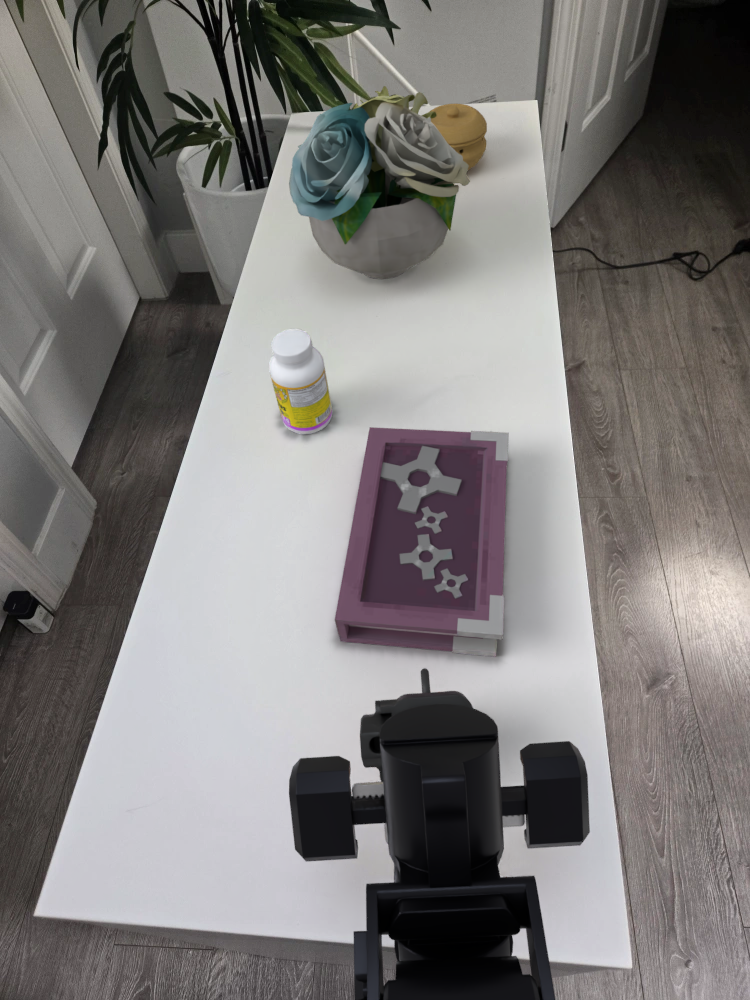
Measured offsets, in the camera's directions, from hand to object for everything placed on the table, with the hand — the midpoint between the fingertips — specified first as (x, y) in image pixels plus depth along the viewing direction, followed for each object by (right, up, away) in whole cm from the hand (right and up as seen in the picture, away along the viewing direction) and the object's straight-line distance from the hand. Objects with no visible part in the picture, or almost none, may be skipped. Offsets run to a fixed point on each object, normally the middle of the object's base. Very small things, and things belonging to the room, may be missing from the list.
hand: (431, 738), depth 54 cm
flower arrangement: (-3, +55, +56) cm, 79 cm away
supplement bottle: (-13, +29, +38) cm, 49 cm away
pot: (+9, +77, +72) cm, 106 cm away
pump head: (0, +1, +5) cm, 6 cm away
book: (+2, +13, +25) cm, 28 cm away
